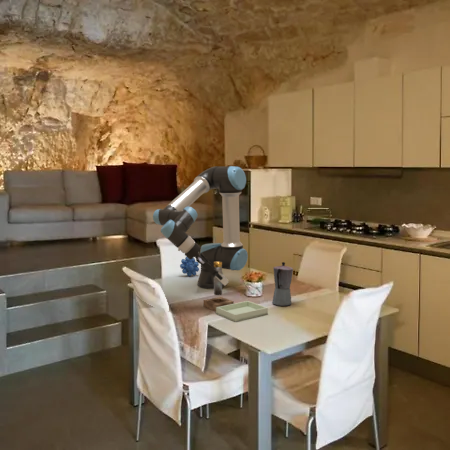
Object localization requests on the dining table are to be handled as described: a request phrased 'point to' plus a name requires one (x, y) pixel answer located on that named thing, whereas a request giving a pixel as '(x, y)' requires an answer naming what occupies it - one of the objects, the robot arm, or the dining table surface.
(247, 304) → the tray
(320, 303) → the dining table surface
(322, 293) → the dining table surface
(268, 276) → the dining table surface
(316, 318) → the dining table surface
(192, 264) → the grapes
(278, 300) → the moka pot
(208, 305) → the socket block
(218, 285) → the grey bottle
